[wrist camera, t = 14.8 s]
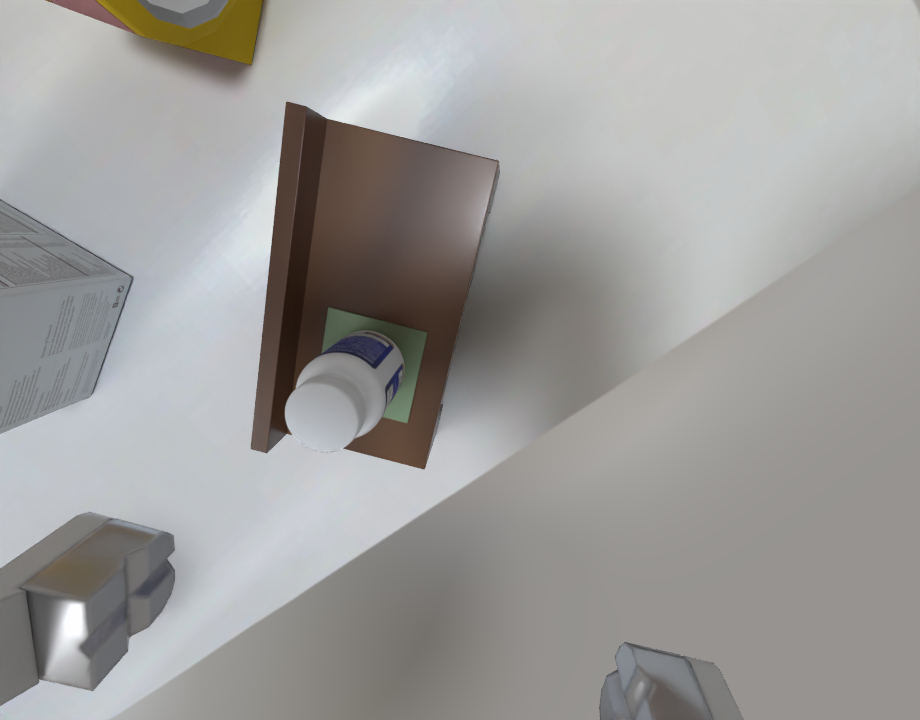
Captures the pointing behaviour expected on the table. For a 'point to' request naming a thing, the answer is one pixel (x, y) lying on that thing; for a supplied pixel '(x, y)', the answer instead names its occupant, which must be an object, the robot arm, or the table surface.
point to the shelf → (369, 268)
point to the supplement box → (50, 318)
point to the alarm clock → (183, 22)
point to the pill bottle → (345, 391)
